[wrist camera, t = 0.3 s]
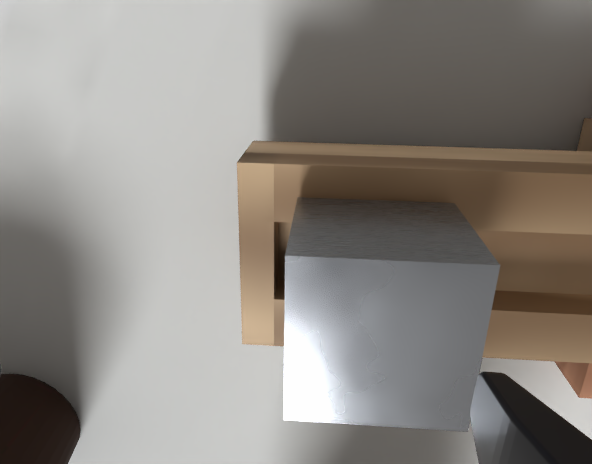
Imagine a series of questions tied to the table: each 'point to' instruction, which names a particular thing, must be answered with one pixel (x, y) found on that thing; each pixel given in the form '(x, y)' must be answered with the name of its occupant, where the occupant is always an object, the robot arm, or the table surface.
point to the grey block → (384, 313)
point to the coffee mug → (35, 422)
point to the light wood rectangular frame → (477, 210)
